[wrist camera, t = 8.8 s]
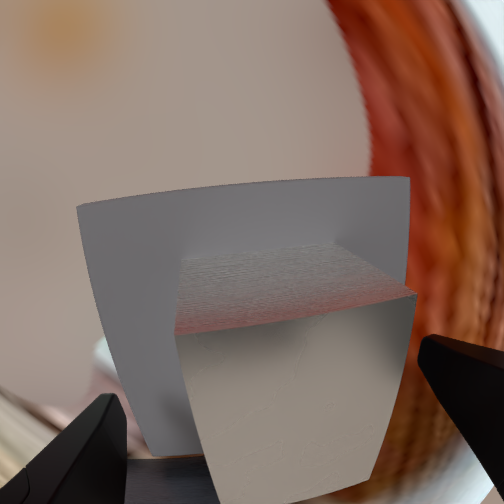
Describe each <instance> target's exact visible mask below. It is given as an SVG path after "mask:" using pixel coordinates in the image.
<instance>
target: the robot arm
mask: <svg viewBox="0 0 504 504" xmlns="http://www.w3.org/2000/svg"><path fill="white" fill-rule="evenodd" d="M417 361H418V365H419V367H420V369H421V371H422V372H423V374H424V376H425V378H426V379H427V381H428V383H429V385H430V386H431V388H432V390H433V392H434V394H435V395H436V397H437V399H438V400H439V402H440V403H441V405H442V406H443V408H444V409H445V411H446V412H447V414H448V415H449V416H450V418H451V419H452V421H453V422H454V424H455V425H456V427H457V428H458V430H459V431H460V433H461V434H462V436H463V437H464V439H465V440H466V442H467V443H468V445H469V446H470V448H471V449H472V451H473V452H474V454H475V455H476V457H477V458H478V460H479V462H480V463H481V465H482V466H483V468H484V469H485V471H486V473H487V474H488V476H489V477H490V479H491V481H492V482H493V484H494V486H495V487H496V488H497V491H498V492H499V494H500V496H501V498H502V499H503V501H504V351H500V350H495V349H491V348H487V347H483V346H479V345H475V344H471V343H467V342H464V341H460V340H456V339H452V338H448V337H444V336H440V335H437V334H431V335H428V336H425V337H424V338H423V339H422V341H421V345H420V349H419V354H418V359H417ZM126 478H127V420H126V415H125V413H124V410H123V408H122V406H121V403H120V401H119V398H118V396H117V395H116V394H114V393H104V394H101V395H99V396H98V397H97V398H96V399H95V400H94V401H93V402H92V403H91V404H90V405H89V406H88V407H87V408H86V409H85V410H84V411H83V412H82V413H81V414H79V415H78V416H77V417H76V418H75V419H74V420H73V421H72V422H71V423H70V424H69V425H68V426H67V427H66V428H65V429H64V430H63V431H62V432H61V433H60V434H59V435H57V436H56V437H55V438H54V439H53V440H52V441H51V442H50V443H49V444H48V445H47V446H46V447H45V448H44V449H43V450H42V451H41V452H40V453H39V454H38V455H36V456H35V457H34V458H33V459H32V460H31V461H30V462H29V463H28V464H27V465H26V468H23V469H22V470H21V471H20V472H19V473H17V474H16V475H15V476H14V477H13V478H12V479H11V480H10V481H9V482H8V483H6V484H5V485H4V486H3V487H2V488H0V504H125V490H126Z"/></svg>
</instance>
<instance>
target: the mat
mask: <svg viewBox="0 0 504 504" xmlns="http://www.w3.org/2000/svg"><path fill="white" fill-rule="evenodd" d="M76 208H77V215H78V221H79V227H80V233H81V239H82V244H83V249H84V254H85V259H86V263H87V269H88V273H89V277H90V282H91V286H92V289H93V294H94V298H95V302H96V306H97V309H98V312H99V316H100V320H101V323H102V327H103V330H104V334H105V337H106V340H107V343H108V346H109V350H110V353H111V356H112V359H113V362H114V364H115V367H116V370H117V373H118V376H119V379H120V381H121V384H122V387H123V389H124V392H125V394H126V397H127V399H128V402H129V404H130V407H131V409H132V412H133V414H134V417H135V419H136V421H137V424H138V426H139V428H140V430H141V433H142V435H143V437H144V439H145V441H146V443H147V446H148V448H149V450H150V452H151V454H152V456H174V455H188V454H200V453H204V452H203V448H202V445H201V442H200V438H199V435H198V431H197V428H196V424H195V421H194V417H193V413H192V409H191V406H190V402H189V398H188V394H187V390H186V386H185V382H184V378H183V373H182V369H181V365H180V361H179V356H178V352H177V347H176V342H175V338H174V329H175V317H176V306H177V296H178V286H179V276H180V267H181V260H184V259H192V258H201V257H210V256H218V255H227V254H236V253H244V252H253V251H262V250H270V249H279V248H288V247H297V246H305V245H314V244H323V243H331V242H334V243H336V244H338V245H340V246H341V247H343V248H345V249H346V250H348V251H350V252H351V253H353V254H355V255H356V256H358V257H360V258H361V259H363V260H364V261H366V262H368V263H369V264H371V265H373V266H374V267H376V268H378V269H379V270H381V271H382V272H384V273H386V274H387V275H389V276H390V277H392V278H394V279H395V280H397V281H398V282H400V283H402V284H403V285H405V278H406V267H407V255H408V240H409V219H410V177H402V176H371V177H336V178H315V179H314V178H313V179H296V180H281V181H280V180H279V181H265V182H252V183H241V184H229V185H219V186H209V187H201V188H191V189H182V190H174V191H167V192H158V193H150V194H143V195H136V196H129V197H122V198H116V199H110V200H104V201H98V202H91V203H85V204H82V205H79V206H77V207H76Z"/></svg>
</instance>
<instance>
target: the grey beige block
mask: <svg viewBox="0 0 504 504" xmlns="http://www.w3.org/2000/svg"><path fill="white" fill-rule="evenodd" d="M416 301H417V293H416V292H414V291H413V290H411V289H409V288H408V287H406V286H405V285H403V284H402V283H400V282H398V281H397V280H395V279H394V278H392V277H390V276H389V275H387V274H386V273H384V272H382V271H381V270H379V269H378V268H376V267H374V266H373V265H371V264H369V263H368V262H366V261H364V260H363V259H361V258H360V257H358V256H356V255H355V254H353V253H351V252H350V251H348V250H346V249H345V248H343V247H341V246H340V245H338V244H336V243H334V242H331V243H323V244H314V245H305V246H297V247H288V248H279V249H270V250H262V251H253V252H244V253H236V254H227V255H218V256H210V257H201V258H192V259H184V260H181V267H180V276H179V286H178V296H177V306H176V317H175V329H174V338H175V342H176V347H177V352H178V356H179V361H180V365H181V369H182V373H183V378H184V382H185V386H186V390H187V394H188V398H189V402H190V406H191V409H192V413H193V417H194V421H195V424H196V428H197V431H198V435H199V438H200V442H201V445H202V448H203V452H204V455H205V458H206V461H207V465H208V468H209V471H210V474H211V477H212V480H213V483H214V486H215V489H216V492H217V495H218V498H219V501H220V503H221V504H289V503H293V502H298V501H302V500H306V499H310V498H313V497H317V496H320V495H324V494H327V493H331V492H334V491H337V490H340V489H343V488H346V487H349V486H352V485H355V484H358V483H361V482H363V481H366V480H369V478H370V475H371V473H372V470H373V467H374V465H375V462H376V459H377V457H378V454H379V451H380V448H381V445H382V443H383V440H384V437H385V434H386V431H387V427H388V424H389V421H390V418H391V414H392V411H393V408H394V404H395V401H396V397H397V393H398V389H399V386H400V382H401V378H402V373H403V369H404V365H405V361H406V356H407V351H408V346H409V341H410V336H411V331H412V325H413V320H414V314H415V307H416Z"/></svg>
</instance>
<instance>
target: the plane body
mask: <svg viewBox="0 0 504 504" xmlns="http://www.w3.org/2000/svg"><path fill="white" fill-rule="evenodd" d="M125 504H221V503H220V501H219V498H218V495H217V492H216V489H215V486H214V483H213V480H212V477H211V474H210V471H209V468H208V465H207V461H206V458H205V456H199V457H187V458H172V459H144V460H127V478H126V490H125Z"/></svg>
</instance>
